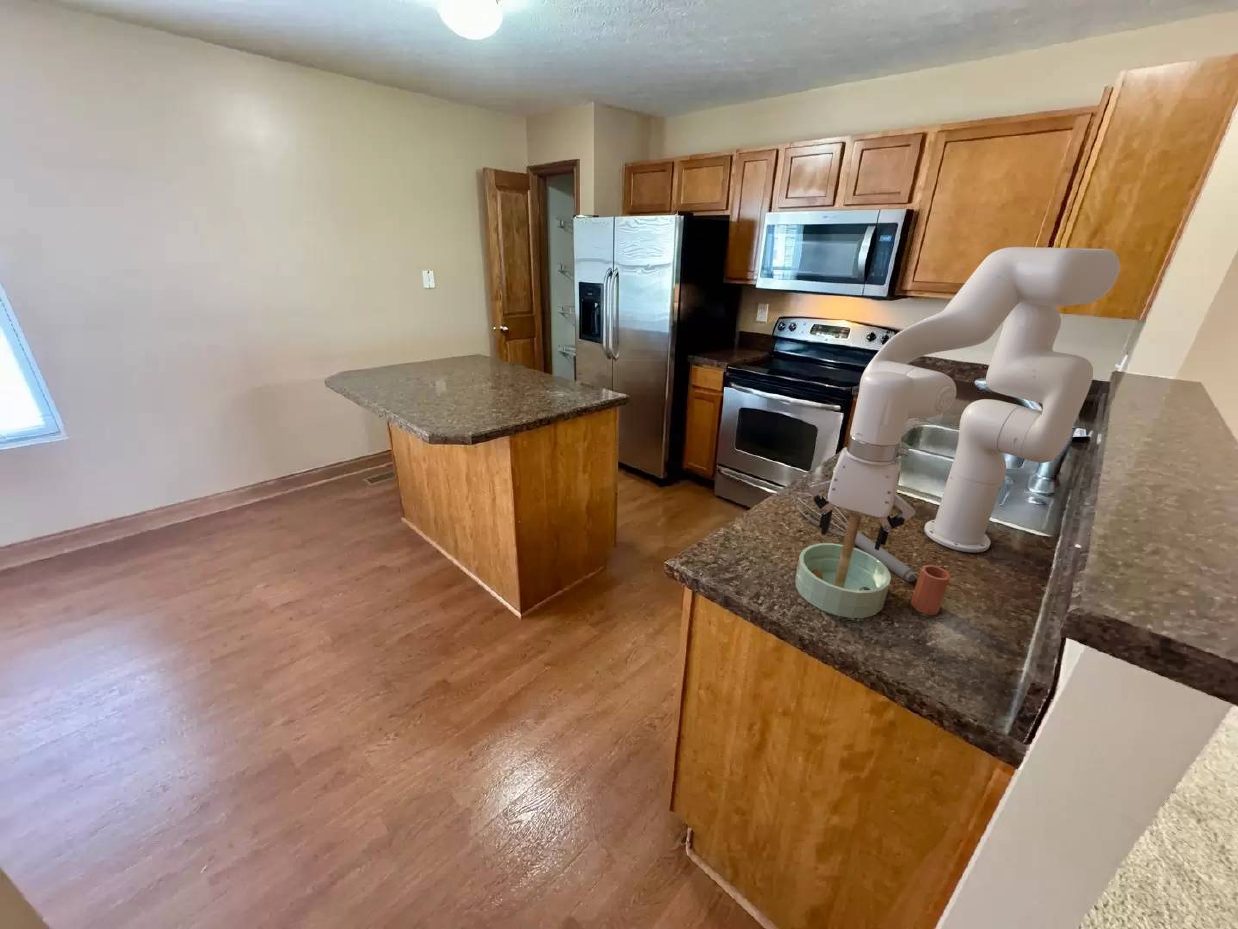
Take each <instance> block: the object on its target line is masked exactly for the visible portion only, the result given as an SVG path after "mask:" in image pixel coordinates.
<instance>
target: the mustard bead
mask: <svg viewBox="0 0 1238 929" xmlns="http://www.w3.org/2000/svg"><path fill="white" fill-rule="evenodd" d="M811 572H812V573H813V574H814V575H815V576H816V577H818V578H820V579H823V573H822V572H821V571H820V570H818V569H814V570H812V571H811Z"/></svg>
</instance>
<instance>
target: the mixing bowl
mask: <svg viewBox="0 0 1238 929" xmlns="http://www.w3.org/2000/svg"><path fill="white" fill-rule="evenodd" d="M842 547H843V544H840V543H834V542H833V543H832V542H820V543H816V544H810V545H808V546H807V547H805V548H804V549H802V551H801V552H800V554H799V557H798V562H797V566H796V572H795V578H794V583H795V589H796V590H797V592H798V593H799V595H800V596H801V597H802V598H803V599H804V600H805V601H807V602H808V603H809V604H811V605H812V606H813V607H816V608H817V609H819V610H820V611H823V612H826V613H828V614H832V615H834V616H837V617H844V618H849V619H865V618H868V617H872V616H875V615H877V614H879V613H880V612H881V611H882V610H883V608H884V605H885V603H886V602H885V601H886V597H887V594H888V590H889V588H890V584H891V580H892V575H891V573H890V570H889V569H888V568H886V566H885V565H884V564H883V563H882V562H881V561H879V560H878V559H876V558H875V557H874V556H872V555H870V554H868V553H866V552H865V551H863V550H862V549H861V548H856V547H854V549H853V553H852V557H851V561H850V565H849V569H848V573H847V577H846V581H845V586H844V588H841V587H838V586H835V585H834V581H835V577H836V573H837V568H838V564H839V560H840V555H841V551H842ZM814 569H818V570H820V571H821V572H822V573H823V579H820V578H818V577H816V576H815V575H814V574H813V573H812V572H811V571H812V570H814ZM862 587H868V588H870V589H871V590H859V589H860V588H862Z"/></svg>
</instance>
